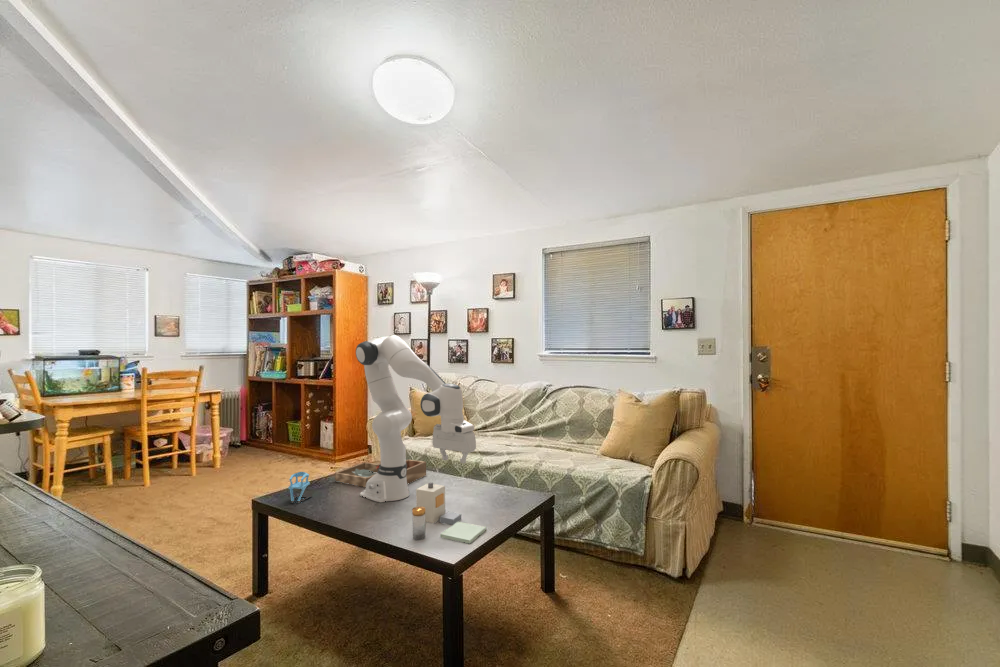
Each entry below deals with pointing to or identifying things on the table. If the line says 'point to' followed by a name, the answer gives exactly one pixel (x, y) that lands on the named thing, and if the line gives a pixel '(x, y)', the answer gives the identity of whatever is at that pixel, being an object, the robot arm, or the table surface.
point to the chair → (298, 484)
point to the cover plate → (450, 518)
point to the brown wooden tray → (350, 477)
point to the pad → (463, 532)
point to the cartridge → (418, 523)
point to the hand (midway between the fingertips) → (454, 461)
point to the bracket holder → (415, 470)
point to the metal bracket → (363, 473)
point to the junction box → (431, 501)
